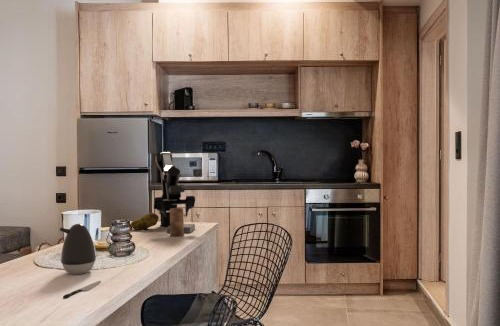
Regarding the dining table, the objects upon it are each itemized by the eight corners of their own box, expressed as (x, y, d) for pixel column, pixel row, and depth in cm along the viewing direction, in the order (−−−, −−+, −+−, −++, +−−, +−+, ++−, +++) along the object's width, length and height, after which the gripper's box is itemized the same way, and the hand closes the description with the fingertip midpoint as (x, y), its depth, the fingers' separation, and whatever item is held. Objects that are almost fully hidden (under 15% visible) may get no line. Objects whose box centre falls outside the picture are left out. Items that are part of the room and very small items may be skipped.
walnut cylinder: (168, 236, 215) (168, 209, 215) (172, 234, 221) (171, 207, 221) (182, 236, 214) (181, 209, 214) (185, 234, 220) (184, 207, 220)
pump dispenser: (60, 270, 153) (59, 222, 153) (94, 267, 157) (93, 220, 157) (61, 278, 144) (60, 227, 144) (97, 274, 148) (96, 224, 148)
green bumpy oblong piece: (136, 227, 242) (135, 211, 242) (160, 228, 240) (160, 212, 240) (129, 230, 234) (128, 213, 234) (154, 230, 232) (154, 214, 231)
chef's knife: (111, 281, 141) (101, 280, 142) (111, 277, 141) (101, 276, 142) (72, 300, 123) (61, 299, 123) (72, 296, 123) (62, 295, 123)
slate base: (166, 232, 225) (166, 227, 225) (172, 229, 236) (172, 223, 236) (190, 232, 224) (190, 227, 224) (194, 229, 235) (194, 223, 235)
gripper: (153, 179, 220) (156, 206, 210) (194, 178, 226) (199, 204, 215) (152, 195, 228) (155, 221, 217) (191, 194, 233) (196, 219, 223)
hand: (176, 216), depth 218 cm, fingers open, 9 cm apart
